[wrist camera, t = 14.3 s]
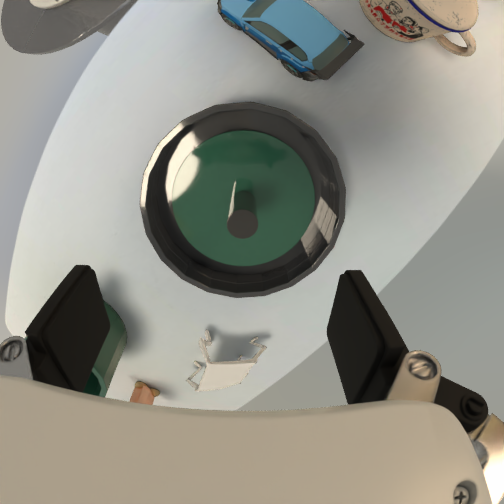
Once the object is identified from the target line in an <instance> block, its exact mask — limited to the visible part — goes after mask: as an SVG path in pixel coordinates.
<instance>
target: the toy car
mask: <svg viewBox="0 0 504 504" xmlns="http://www.w3.org/2000/svg"><path fill="white" fill-rule="evenodd" d="M217 4H218V13H219V14H220V15H221V17H222V19H223V20H224V21H225V22H226V23H227V24H229V25H230V26H231V27H233V28H235V29H237V30H243V32H244V33H245V34H247V35H248V36H249V37H251V38H252V39H253V40H254V41H256V42H257V43H258V44H259V45H261V46H262V47H263V48H264V49H266V50H267V51H268V52H269V53H270V54H272V55H273V56H274V57H275V58H276V59H277V60H278V59H281V63H282V65H283V66H284V68H286V69H287V70H288V71H289V72H290V73H291V74H293V75H295V76H296V77H299V78H302V77H303V80H307V81H313V80H316V79H318V78H319V79H323V80H327V79H329V78H330V77H331V76H332V75H333V74H334V73H335V72H336V71H337V70H338V69H339V68H340V67H341V66H342V65H343V64H344V63H346V62H347V61H348V60H349V59H350V58H351V57H352V56H353V55H354V54H355V53H356V52H357V51H358V50H359V49H360V48H361V47H362V46H363V45H364V43H363V42H361V41H359V40H358V39H357V38H356V37H355V36H354V35H352V34H350V33H348V32H346V31H345V30H344V31H345V32H346V33H347V34H348V35H349V36H350V37H349V38H347V37H346V36H345V35H344V33H343V32H341V31H340V30H338V29H337V28H336V27H335V26H333V25H332V24H331V23H330V22H329V21H328V20H327V19H326V18H325V17H324V16H323V15H322V14H320V13H319V12H318V11H317V10H315V9H314V8H313V7H312V6H310V5H309V4H308V3H306V2H305V1H303V0H218V3H217ZM349 40H352V41H351V43H349Z"/></svg>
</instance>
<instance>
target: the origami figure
mask: <svg viewBox="0 0 504 504" xmlns="http://www.w3.org/2000/svg"><path fill="white" fill-rule="evenodd" d="M205 336H206V339H207V340H204V339H202V338H200V340H199V345H200V348H201V350H202V353H203V355H204V358H205V361H206V364H207V365H206V368H205V371H204V373H203V376H202V379H201V381H200V384H199V385H198V384H196V383H194V382H193V381H191V379H192V378H193V377H194V376H195V375H196V374H197V373H198V372H199V371H200V370H201V369H202V367H201V365H200V364H199V363H198V362H196V361H194V364H195V365H196V366H197V367H198V368H199V369H198V370H197V371H196V372H194V373H193V374H192V375H191V376H190V377H189V378H188V379H186V381H187V382H188V383H189V384H190V385H191V386H192V387H193V388H195V391H210V390H219V389H222V388H226V387H229V386H232V385H235V384H241V381H242V380H243V378H244V377H246V376H247V375H248V372H249V370H250V369H251V368H252V366H253V365H254V364H256V363H257V358H258V357H259V356H260V355H261V354H262V352H263V351H264V350H265V349H266V348H267V347H266V346H264V345H261V344H258V343H255V342H254V341H255V340H257V339H258V338H257V337H255V338H254V339H253V340H251V341H250V342H249V343H250V344H253V345H255V346H258V347H261V348H262V349H261V350H260V351H259V352H258V353H257V354H256V355H255V356H254V357H253V358H252V359H249V360H240V358H241V357H242V356H243V355H241V356H240V357H239V358H238V359H237V361H227V362H210V358H209V355H208V352H207V349H206V346H211V344H212V341H211V338H210V334H209V331H208V330H206V332H205Z"/></svg>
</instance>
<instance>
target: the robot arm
mask: <svg viewBox="0 0 504 504" xmlns="http://www.w3.org/2000/svg"><path fill="white" fill-rule="evenodd" d="M69 1H70V0H30V2H31V4H33V5H34V6H36V7H39V8H43V9H48V8H54V7H57V6H60V5H62V4H65V3H67V2H69ZM109 330H110V320H109V317H108V314H107V311H106V308H105V305H104V302H103V299H102V295H101V292H100V288H99V285H98V281H97V278H96V274H95V271H94V270H93V269H91V267H90V266H89V265H76V266H74V268H73V269H72V270H71V271H70V272H69V274H68V275H67V276H66V277H65V279H64V280H63V281H62V282H61V284H60V285H59V286H58V287H57V289H56V290H55V291H54V292H53V294H52V295H51V296H50V298H49V299H48V300H47V302H46V303H45V304H44V306H43V307H42V308H41V310H40V311H39V313H38V314H37V315H36V317H35V318H34V320H33V321H32V322H31V324H30V325H29V327H28V328H27V330H26V331H25V333H26V335H27V339H26V341H25V339H24V338H23V337H20V336H13V337H9V338H8V339H6V340H4V341H3V342H2V343H1V344H0V504H499V502H500V500H501V499H502V497H503V495H504V422H502V421H501V420H500V419H499V418H498V417H497V416H495V415H494V414H493V413H492V414H491V415H488V407H487V403H486V401H485V400H484V398H483V397H481V395H479V394H477V393H476V392H473V391H472V390H469V389H467V388H465V387H463V386H461V385H459V384H456V383H454V382H453V381H451V380H448V379H446V378H444V377H442V376H441V366H440V364H439V362H438V361H437V359H436V358H435V357H434V356H433V355H431V354H429V353H427V352H424V351H421V350H414V351H411V352H409V350H408V349H407V347H406V345H405V343H404V341H403V339H402V337H401V336H400V334H399V332H398V330H397V329H396V327H395V325H394V323H393V321H392V320H391V318H390V316H389V315H388V313H387V311H386V310H385V308H384V306H383V305H382V303H381V302H380V300H379V298H378V297H377V295H376V293H375V292H374V290H373V288H372V287H371V285H370V283H369V282H368V280H367V279H366V277H365V275H364V274H363V272H362V271H361V270H346V271H345V273H344V274H341V275H340V278H339V282H338V286H337V291H336V295H335V299H334V303H333V307H332V311H331V315H330V319H329V323H328V326H327V337H328V340H329V343H330V346H331V349H332V353H333V356H334V359H335V363H336V366H337V369H338V372H339V376H340V379H341V382H342V386H343V389H344V393H345V395H346V399H347V403H348V404H349V405H341V406H332V407H321V408H309V409H295V410H277V411H221V410H200V409H186V408H174V407H165V406H156V405H148V404H141V403H134V402H128V401H122V400H116V399H110V398H105V397H100V396H95V395H90V394H86V393H83V391H84V389H85V386H86V383H87V381H88V379H89V376H90V374H91V371H92V369H93V367H94V364H95V362H96V359H97V357H98V355H99V353H100V350H101V348H102V346H103V344H104V341H105V339H106V337H107V335H108V333H109Z"/></svg>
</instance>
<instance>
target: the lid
mask: <svg viewBox="0 0 504 504" xmlns="http://www.w3.org/2000/svg"><path fill="white" fill-rule="evenodd" d="M172 205H173V212H174V216H175V219H176V222H177V224H178V227H179V228H180V230H181V232H182V234H183V235H184V237H185V238H186V239H187V240H188V242H189V243H190V244H191V245H192V246H193V247H194V248H195V249H197V250H198V251H199V252H201V253H202V254H204V255H205V256H207V257H209V258H211V259H213V260H215V261H218V262H221V263H224V264H228V265H234V266H253V265H259V264H263V263H267V262H269V261H272V260H274V259H276V258H278V257H280V256H282V255H283V254H285V253H286V252H288V251H289V250H290V249H291V248H293V247H294V246H295V245H296V244H297V243H298V241H299V240H300V239H301V238H302V236H303V235H304V233H305V232H306V230H307V228H308V226H309V224H310V222H311V219H312V216H313V211H314V206H315V192H314V185H313V181H312V178H311V175H310V172H309V170H308V168H307V166H306V165H305V163H304V161H303V160H302V159H301V157H300V156H299V155H298V154H297V153H296V152H295V151H294V150H293V149H292V148H291V147H290V146H288V145H287V144H286V143H284V142H283V141H281V140H279V139H278V138H276V137H274V136H271V135H269V134H266V133H262V132H258V131H251V130H235V131H229V132H224V133H221V134H218V135H216V136H213V137H211V138H209V139H207V140H206V141H204V142H203V143H201V144H200V145H198V146H197V147H196V148H195V149H194V150H193V151H192V152H191V153H190V154H189V155H188V156H187V157H186V158H185V160H184V161H183V163H182V165H181V166H180V168H179V170H178V172H177V175H176V177H175V181H174V184H173V191H172Z"/></svg>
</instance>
